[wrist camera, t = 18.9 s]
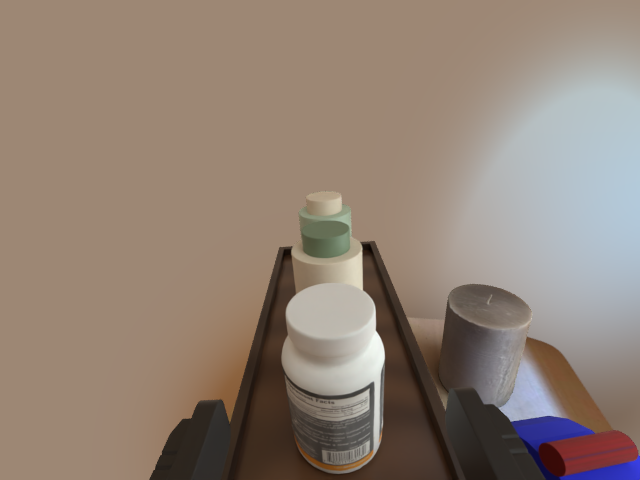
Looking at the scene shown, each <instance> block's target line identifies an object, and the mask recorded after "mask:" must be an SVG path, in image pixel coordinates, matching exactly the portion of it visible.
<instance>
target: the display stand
mask: <svg viewBox="0 0 640 480" xmlns="http://www.w3.org/2000/svg"><path fill="white" fill-rule="evenodd" d="M360 243H361V245H362V268H363V291H364V292H366V293H367V294H368V295H369V296H370V297H371V299H372V300H373V302H374V305H375V310H376V329H375V330H376V332H377V333H378V335H379V336H380V338H381V340H382V343H383V347H384V352H385V370H384V398H383V428H382V437H381V442H380V445H379V448H378V450H377V452H376V453H375V455H374V457H373V458H372V459H371V460H370V461H369V462H368V463H367V464H365V465H364V466H362V467H361V468H360V469H358V470H355V471H353V472H350V473H343V474H333V473H327V472H324V471H322V470H319V469H317V468H316V467H314V466H312V465H311V464H310V463H309V462H308V461H307V460H306V459H305V458H304V457H303V455H302V454H301V452H300V451H299V449H298V446H297V444H296V440H295V437H294V432H293V427H292V421H291V416H290V410H289V404H288V398H287V393H286V385H285V380H284V374H283V370H282V363H281V361H282V360H281V356H282V349H283V345H284V342H285V340H286V338H287V336H288V331H287V325H286V308H287V305H288V303H289V302H290V300H291V299H292V298H293V297H294V296H295V295H296V288H295V280H294V271H293V263H292V255H291V250H292V246H291V247H280V248H279V251H278V254H277V258H276V261H275V265H274V269H273V272H272V276H271V279H270V283H269V286H268V290H267V293H266V297H265V301H264V305H263V308H262V311H261V315H260V318H259V322H258V326H257V329H256V333H255V336H254V340H253V343H252V347H251V350H250V354H249V358H248V361H247V365H246V368H245V372H244V375H243V379H242V383H241V386H240V390H239V393H238V397H237V400H236V404H235V407H234V411H233V415H232V418H231V422H230V428H231V439H230V446H229V450H228V454H227V458H226V461H225V465H224V469H223V473H222V477H221V480H466V479H465V477H464V474H463V472H462V469H461V466H460V464H459V461H458V459H457V456H456V454H455V451H454V449H453V446H452V444H451V441H450V439H449V436H448V433H447V429H446V423H445V415H446V411H445V409H444V406H443V404H442V401H441V399H440V397H439V394H438V392H437V389H436V387H435V385H434V382H433V380H432V377H431V375H430V373H429V370H428V368H427V365H426V363H425V361H424V358H423V356H422V354H421V351H420V349H419V346H418V344H417V342H416V339H415V337H414V334H413V332H412V330H411V327H410V325H409V322H408V320H407V318H406V315H405V313H404V311H403V308H402V306H401V303H400V301H399V298H398V296H397V294H396V291H395V289H394V286H393V284H392V282H391V279H390V277H389V275H388V272H387V270H386V267H385V265H384V263H383V260H382V258H381V255H380V253H379V251H378V248H377V246H376V243H375V241H370V242H360Z"/></svg>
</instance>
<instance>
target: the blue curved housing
mask: <svg viewBox="0 0 640 480" xmlns="http://www.w3.org/2000/svg"><path fill="white" fill-rule="evenodd" d="M511 423H512V425H513V427H514V428H515V430H516V432H517V433H518V435H519V438H520V439H521V440H522V441H523V443H524V445H525V446H526V448H527V450H528V453H529V454H531V456H532V458H533V459H534V461H535V463H536V464H537V466H538V467H539V469H540V471H541V472H542V474H543V476H544V477H545V479H546V480H640V456H639V455H638V450H637V447H636V445H635V444H634V442H633V441H632V440H631V439H630V438H629V437H628V436H627V435H625V434H624V433H622V432H620V431H616V430H612V431H607V432H601V433H594V432H593V431H592V430H590V429H588V428H586V427H584V426H582V425H580V424H578V423H576V422H573V421H571V420H569V419H566V418H559V417H553V416H545V417H539V418H532V419H526V420H519V421H513V422H511Z"/></svg>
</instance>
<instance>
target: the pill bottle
mask: <svg viewBox="0 0 640 480" xmlns="http://www.w3.org/2000/svg"><path fill="white" fill-rule="evenodd" d="M286 325H287V331H288V336H287V338H286V340H285V342H284V345H283V349H282V356H281V360H282V361H281V363H282V370H283V374H284V380H285V385H286V393H287V398H288V404H289V410H290V416H291V421H292V427H293V432H294V437H295V440H296V444H297V446H298V449H299V451H300V452H301V454H302V455H303V457H304V458H305V459H306V460H307V461H308V462H309V463H310V464H311V465H312V466H314V467H316V468H317V469H319V470H322V471H324V472H327V473H333V474H343V473H350V472H353V471H355V470H358V469H360V468H361V467H362V466H364V465H365V464H367V463H368V462H369V461H370V460H371V459H372V458H373V457H374V455H375V453H376V452H377V450H378V448H379V445H380V442H381V437H382V428H383V398H384V370H385V352H384V347H383V343H382V340H381V338H380V336H379V335H378V333H377V332H376V330H375V329H376V310H375V305H374V302H373V300H372V299H371V297H370V296H369V295H368V294H367V293H366V292H364V291H363V290H361V289H359V288H357V287H355V286H352V285H348V284H342V283H323V284H318V285H314V286H311V287H308V288H306V289H304V290H302V291H300V292H299V293H297V294H296V295H295V296H294V297H293V298H292V299H291V300H290V302H289V303H288V305H287V308H286Z"/></svg>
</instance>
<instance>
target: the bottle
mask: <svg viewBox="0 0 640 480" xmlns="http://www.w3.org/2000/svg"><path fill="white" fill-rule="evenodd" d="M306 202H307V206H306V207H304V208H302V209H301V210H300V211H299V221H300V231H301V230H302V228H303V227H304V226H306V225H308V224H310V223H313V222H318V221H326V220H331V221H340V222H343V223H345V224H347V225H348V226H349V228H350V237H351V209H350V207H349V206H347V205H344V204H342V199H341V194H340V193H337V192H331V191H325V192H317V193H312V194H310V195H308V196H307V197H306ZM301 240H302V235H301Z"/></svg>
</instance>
